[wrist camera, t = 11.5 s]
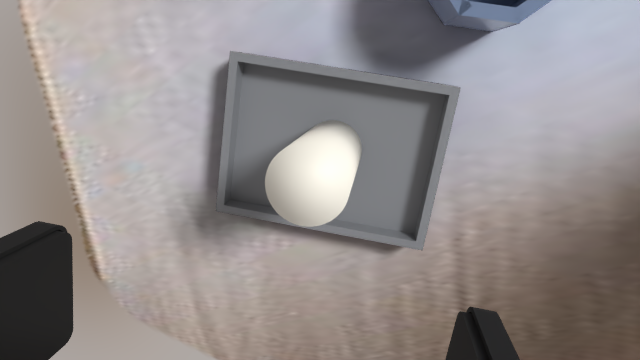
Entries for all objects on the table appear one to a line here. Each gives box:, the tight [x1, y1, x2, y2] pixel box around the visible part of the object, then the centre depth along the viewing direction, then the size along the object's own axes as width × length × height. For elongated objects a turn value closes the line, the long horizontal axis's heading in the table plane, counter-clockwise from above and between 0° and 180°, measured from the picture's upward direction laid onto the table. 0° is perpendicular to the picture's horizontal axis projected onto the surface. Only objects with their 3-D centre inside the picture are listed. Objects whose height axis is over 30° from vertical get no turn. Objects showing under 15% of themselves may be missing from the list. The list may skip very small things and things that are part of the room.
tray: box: [216, 51, 460, 250], centre depth 32 cm, size 16×12×2 cm
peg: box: [265, 120, 362, 227], centre depth 27 cm, size 4×4×11 cm
